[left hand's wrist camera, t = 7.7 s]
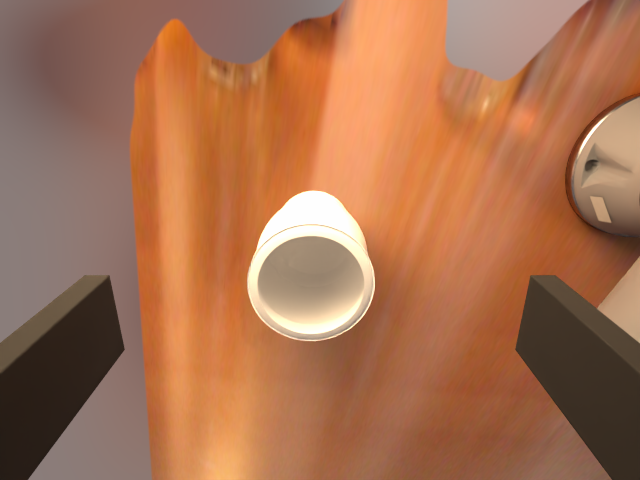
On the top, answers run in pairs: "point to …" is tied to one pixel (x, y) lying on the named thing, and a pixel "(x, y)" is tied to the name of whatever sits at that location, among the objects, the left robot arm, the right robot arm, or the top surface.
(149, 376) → the top surface
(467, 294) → the top surface
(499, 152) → the top surface
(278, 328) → the jar
